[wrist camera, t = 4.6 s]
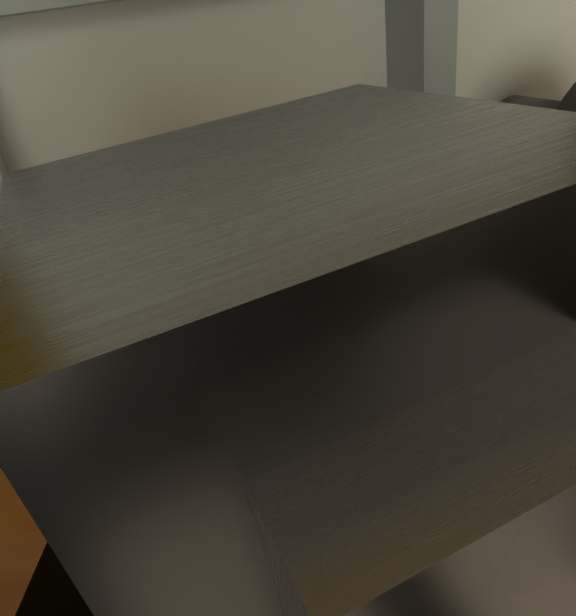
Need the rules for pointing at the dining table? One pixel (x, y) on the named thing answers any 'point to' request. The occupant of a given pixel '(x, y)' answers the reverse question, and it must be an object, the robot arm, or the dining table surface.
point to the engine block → (301, 361)
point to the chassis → (255, 61)
